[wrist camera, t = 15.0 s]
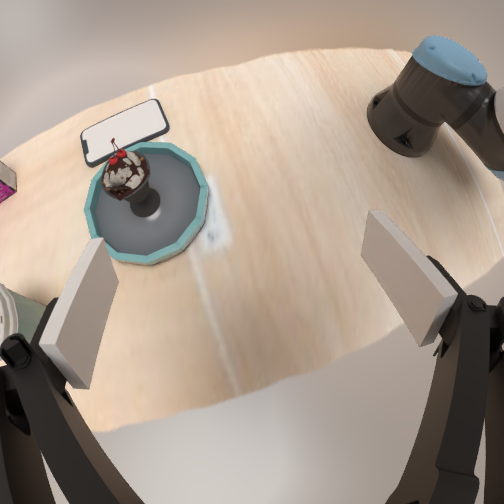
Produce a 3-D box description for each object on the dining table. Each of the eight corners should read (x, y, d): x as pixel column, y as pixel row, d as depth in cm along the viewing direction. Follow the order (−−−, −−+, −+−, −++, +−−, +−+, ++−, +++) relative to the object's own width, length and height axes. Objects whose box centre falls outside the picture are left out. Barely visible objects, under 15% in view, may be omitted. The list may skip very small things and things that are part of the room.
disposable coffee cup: (24, 354, 38) (-34, 360, 23) (18, 292, 40) (-40, 281, 25) (70, 354, 39) (12, 365, 24) (62, 287, 41) (4, 274, 26)
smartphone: (158, 101, 49) (82, 135, 47) (156, 95, 48) (78, 131, 45) (172, 133, 48) (89, 171, 45) (170, 128, 46) (86, 167, 44)
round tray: (183, 135, 47) (180, 125, 44) (227, 233, 44) (227, 227, 41) (83, 181, 44) (76, 174, 41) (112, 284, 41) (105, 282, 39)
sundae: (149, 174, 44) (120, 119, 30) (174, 203, 44) (150, 153, 29) (117, 201, 43) (76, 155, 28) (140, 231, 42) (101, 193, 28)
